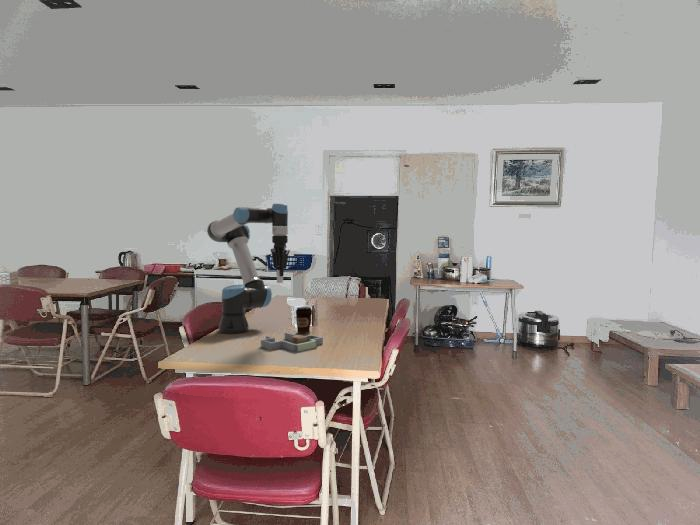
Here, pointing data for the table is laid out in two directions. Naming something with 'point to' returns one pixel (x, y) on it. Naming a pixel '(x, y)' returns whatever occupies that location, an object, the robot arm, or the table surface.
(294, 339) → the walnut block
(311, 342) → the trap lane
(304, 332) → the coffee cup
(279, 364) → the table surface
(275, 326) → the table surface
